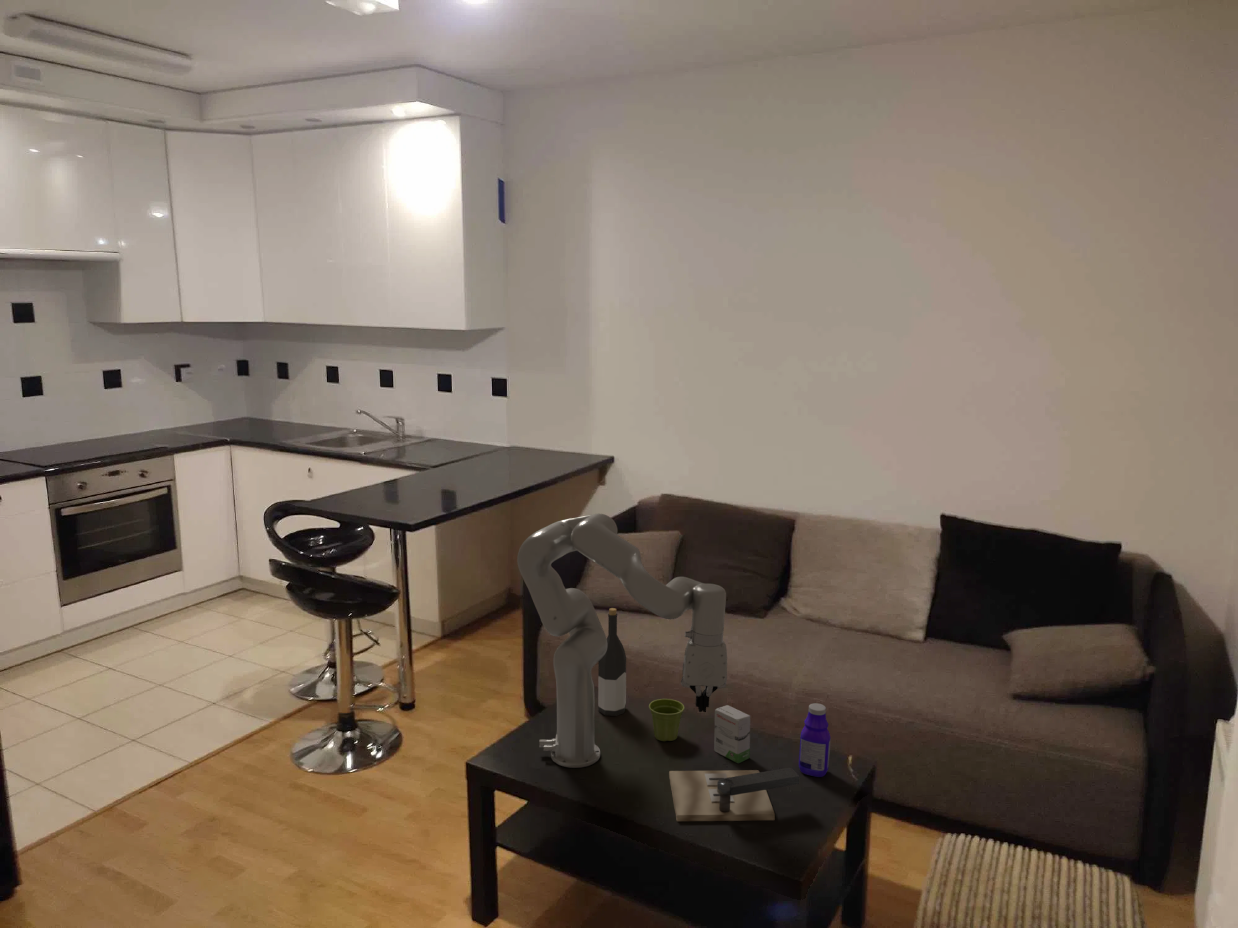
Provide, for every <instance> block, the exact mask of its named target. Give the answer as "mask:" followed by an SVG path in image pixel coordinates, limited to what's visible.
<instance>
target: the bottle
mask: <svg viewBox="0 0 1238 928" xmlns="http://www.w3.org/2000/svg"><path fill="white" fill-rule="evenodd" d="M826 713H827V707H826V706H825V705H824V704H821V703H810V704H809V705H808V713H807V715H806V718H805V719H804V726H803V728H802V729H801V731H800V736H799V737H800V738H799V741H800V742H799V753H798V755H799V756H798V768H799V771H800V772H801V773H802V774H804V775H807V776H812V777H816V778H823V777H825V776H826V774H827V772H828V771H829V765H830V752H831V751H830V750H831V740H832V739H831V734H830V731H829V730H828V727H829V723H828V720H827V716H826V715H827V714H826Z"/></svg>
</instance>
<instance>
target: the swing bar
mask: <svg viewBox="0 0 1238 928" xmlns="http://www.w3.org/2000/svg"><path fill="white" fill-rule="evenodd" d="M759 772H760V771H759ZM799 784H800V775H799V774H798V773H797V772H796V771H795V770H794V769H793V767H791V766H790V767H785V768H784V767H783V768H779V769H773V770H767V771H766V770H765V771H761V772H760V773H753V774H747V775H741V776H735V777H729V778H724V779H721V780H719V781H718V782H717V792H718V793H719V794H720V795H724V796H729V795H731V796H732V795H738V794H744V793H749V792H755V791H761V790H766V791H767V790H773V789H778V788H784V787H789V786H795V785H799Z"/></svg>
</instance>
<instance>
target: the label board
mask: <svg viewBox="0 0 1238 928" xmlns="http://www.w3.org/2000/svg"><path fill="white" fill-rule="evenodd" d="M753 773H760V770H757V769H753V770H752V769H748V770H745V769H744V770H740V769H739V770H737V769H735V770H734V769H733V770H732V769H731V770H729V769H727V770H669V772H668V777H669V784H670V789H671V793H672V794H671V795H672V800H673V801H672V802H673V808H674V812H675V818H676V822H725V821H726V822H727V821H728V822H734V821H738V822H739V821H740V822H741V821H742V822H743V821H775V819H776V818H775V815H776V814H775V811H774V807H773V806H772V802H771V800H770V797H769V794H768V792H767V790H761V791H755V792H749V793H744V794H738V795H732V796H731V795H729V796H724V795H720V794H719V793H718V792H717V782H718V781H719V780H721V779H724V778H729V777H735V776H741V775H747V774H753Z"/></svg>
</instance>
